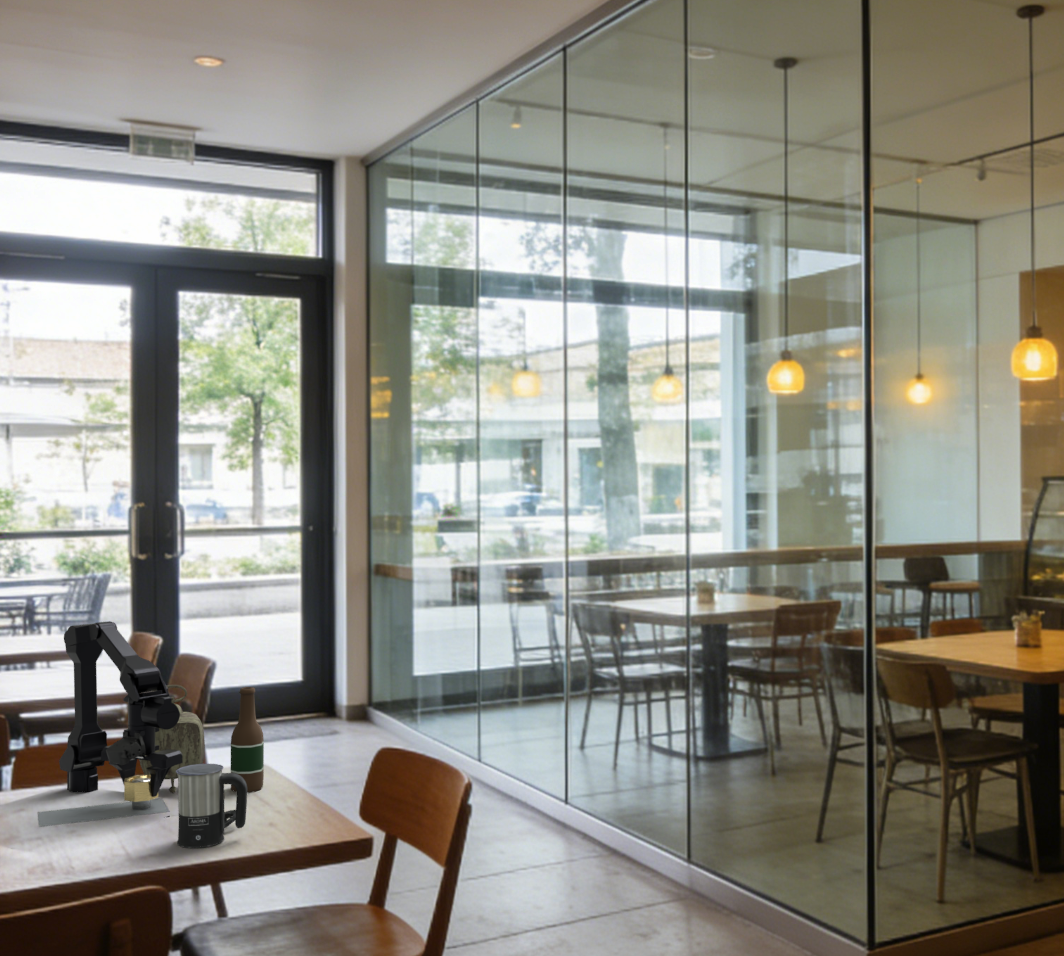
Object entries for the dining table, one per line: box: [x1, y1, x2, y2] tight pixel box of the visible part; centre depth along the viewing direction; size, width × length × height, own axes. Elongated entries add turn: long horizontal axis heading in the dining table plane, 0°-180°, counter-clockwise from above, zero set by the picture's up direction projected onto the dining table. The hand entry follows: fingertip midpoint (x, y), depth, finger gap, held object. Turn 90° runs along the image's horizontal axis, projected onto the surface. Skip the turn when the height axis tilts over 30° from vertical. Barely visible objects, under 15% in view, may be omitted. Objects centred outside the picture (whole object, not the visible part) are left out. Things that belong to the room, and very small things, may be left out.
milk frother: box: [176, 763, 248, 849], centre depth 230 cm, size 14×16×15 cm
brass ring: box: [123, 774, 159, 802], centre depth 247 cm, size 7×7×4 cm
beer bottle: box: [230, 686, 265, 793], centre depth 267 cm, size 8×8×24 cm
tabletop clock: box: [138, 684, 206, 794], centre depth 265 cm, size 14×9×25 cm, turn 114°
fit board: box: [37, 778, 171, 828], centre depth 244 cm, size 26×12×7 cm, turn 115°
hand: (141, 794), depth 247 cm, fingers closed on brass ring, 7 cm apart
